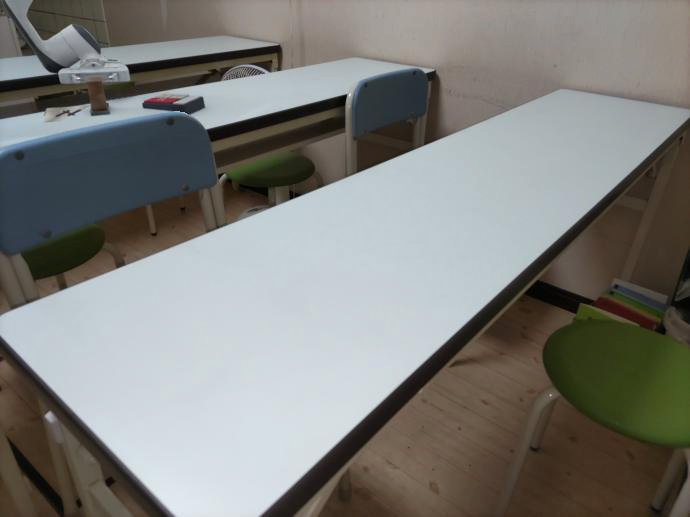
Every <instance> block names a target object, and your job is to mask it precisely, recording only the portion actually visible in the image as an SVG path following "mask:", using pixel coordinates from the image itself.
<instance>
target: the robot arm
mask: <svg viewBox="0 0 690 517" xmlns="http://www.w3.org/2000/svg"><path fill="white" fill-rule="evenodd" d="M33 1H34V0H0V2H1V4H2V7H3V8H4V10H5V12H6V13H7V15H8V16H9V18H10V19H11V21H12V22H13V24H14V25H15V27H16V28H17V29H18V31H19V33H20V34H21V35H22V37H23V39H24V40H25V41H26V42H27V44H28V45H29V47H30V48H31V50H32V52H34V54H35V56H36V58H37V60H38V62H39V63H40V65H41V66H42V67H43V68H44V69H45V70H46V71H47V72H48V73H51V74H56V75H58V78H59V82H60V84H62V85H82V84H86V77H101V78H102V83H103V86H104V85H108V84H112V83H122V82H130V81H131V76H130V70H129V68H128V66H127V65H125V64H124V63H123V61H122V60H120V59H111V58H109V59H108V58H106V57H105V56H104V54H102V49H101V48H102V47H101V45H100V44H99V42H98V40H97V39H96V38H95V37H94V35H93V34H92V33H91V31H89V29H87V28H86V27H85V26H83V25H80V24H77V23H71V24H70V25H68V26H66V27H65V28H63V29H61V30H60V31H59V32H58V33H56V34H55V35H53V36H51V37H50V38H48V39H46V40H44V39H42V38H41V36H40V35H39V33H38V31H37V30H36V29H35V28H34V25H32V23H31V22H30V20H29V18H28V11H29V9H30V7H31V4H32V3H33ZM78 63H80V64H79V67H72V66H74V65H75V64H78Z"/></svg>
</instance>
